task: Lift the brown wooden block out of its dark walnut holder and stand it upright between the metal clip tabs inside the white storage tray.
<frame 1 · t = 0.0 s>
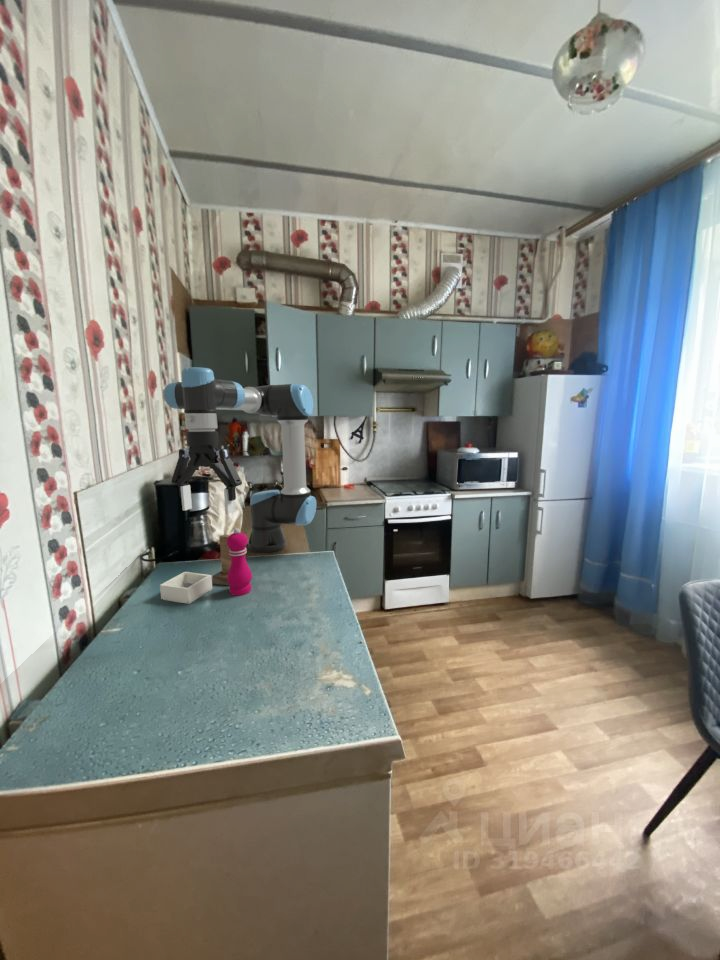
hand: (208, 511, 99), 28 cm above the countertop, fingers open, 13 cm apart
brown wooden block: (227, 558, 121), in the holder
pepper mill: (240, 591, 114), on the countertop
holder: (229, 579, 122), on the countertop
white storage tray: (187, 593, 113), on the countertop
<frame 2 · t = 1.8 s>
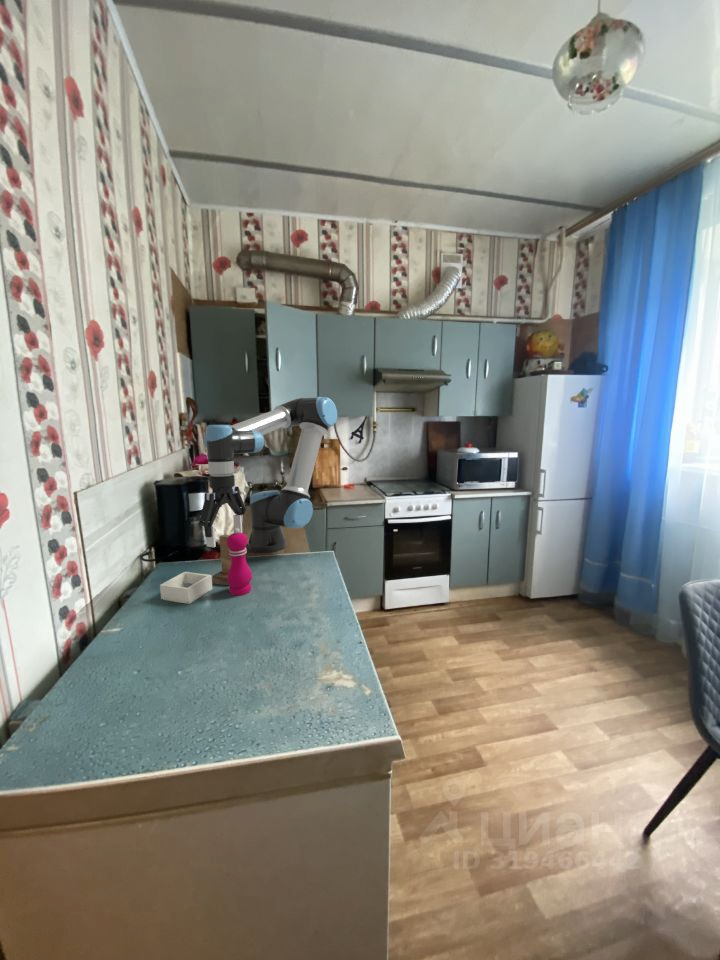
hand: (225, 540, 120), 14 cm above the countertop, fingers open, 13 cm apart
nothing on the countertop moved.
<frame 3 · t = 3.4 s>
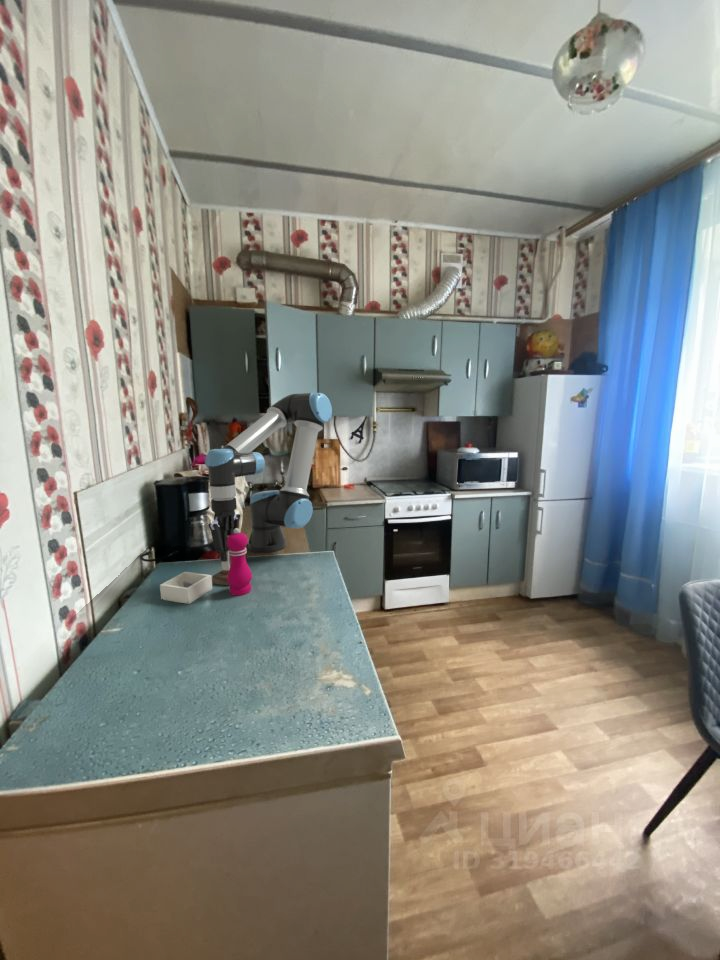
hand: (228, 568, 121), 4 cm above the countertop, fingers closed on brown wooden block, 1 cm apart
brown wooden block: (227, 558, 121), in the holder, touching gripper
everything else where it was.
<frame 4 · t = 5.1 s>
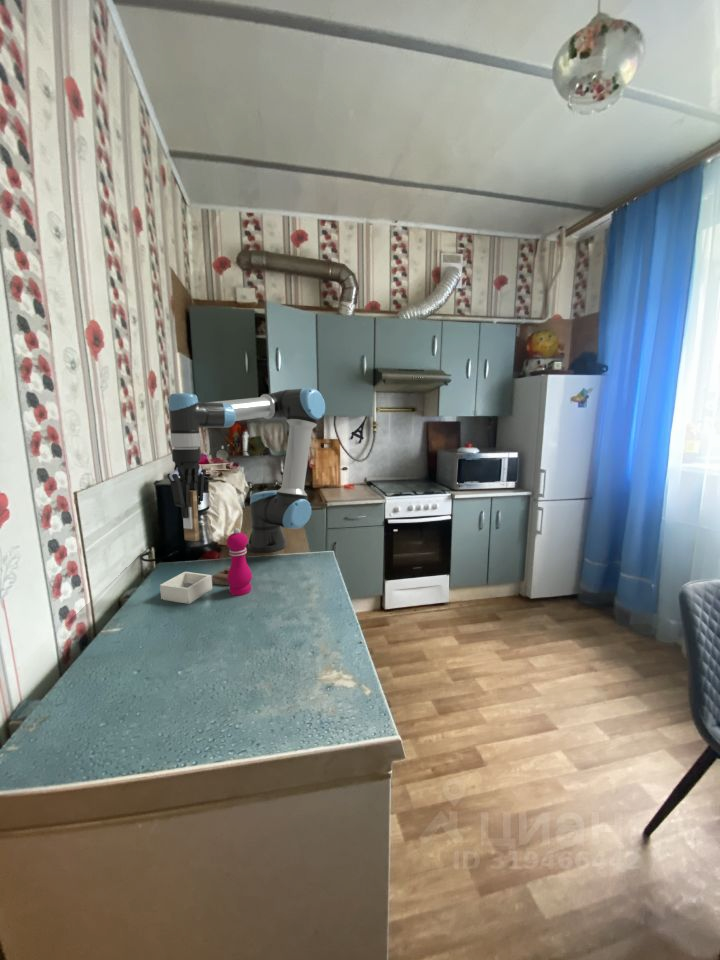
hand: (191, 527, 111), 20 cm above the countertop, fingers closed on brown wooden block, 1 cm apart
brown wooden block: (190, 515, 111), point 24 cm above the countertop, touching gripper
everything else where it was.
when the fingers open (6 cm above the countertop, at t = 7.1 s): brown wooden block drops 1 cm, resting on white storage tray.
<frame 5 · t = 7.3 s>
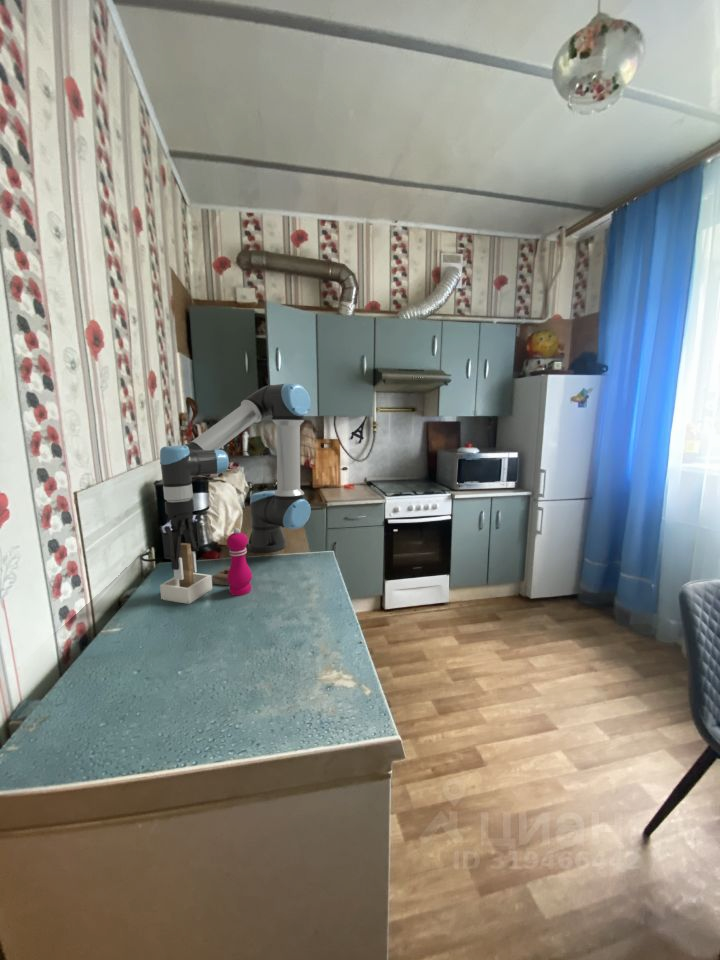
hand: (185, 575, 112), 6 cm above the countertop, fingers open, 5 cm apart
brown wooden block: (185, 567, 111), in the white storage tray, point 8 cm above the countertop
everything else where it was.
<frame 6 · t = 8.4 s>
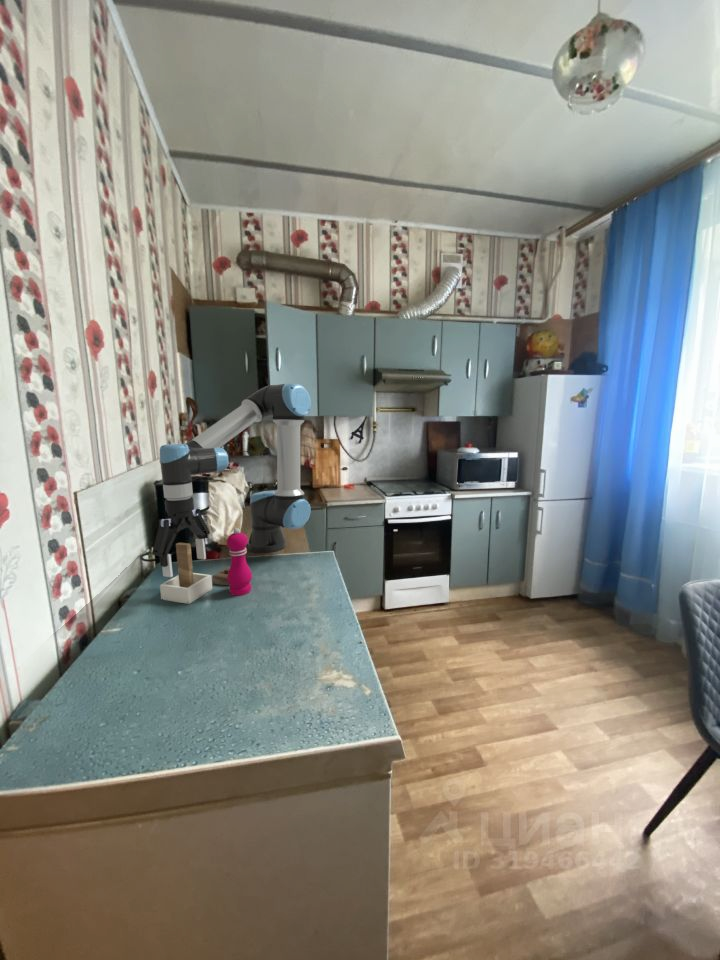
hand: (185, 567, 111), 9 cm above the countertop, fingers open, 13 cm apart
nothing on the countertop moved.
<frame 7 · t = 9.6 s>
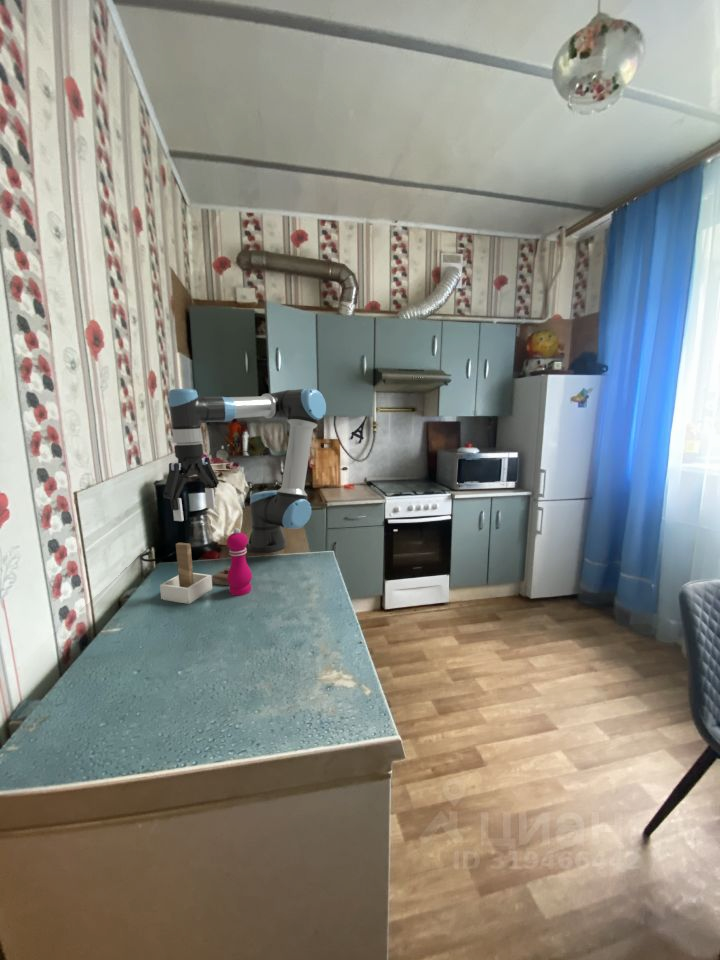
hand: (196, 514, 112), 24 cm above the countertop, fingers open, 13 cm apart
nothing on the countertop moved.
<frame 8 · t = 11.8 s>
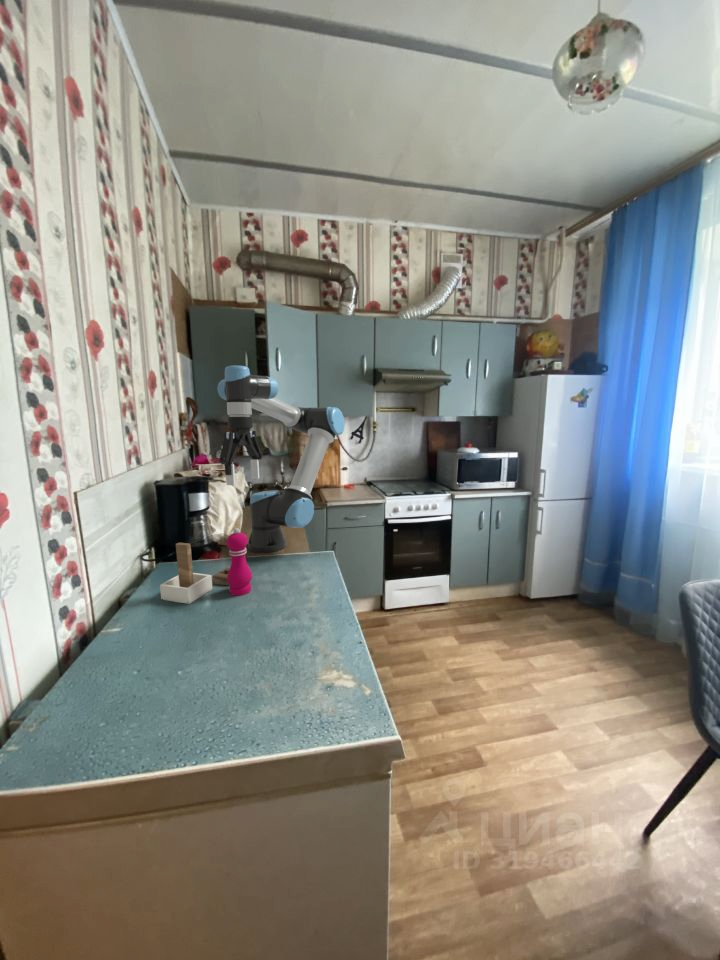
hand: (243, 481, 123), 32 cm above the countertop, fingers open, 13 cm apart
nothing on the countertop moved.
at the end: brown wooden block 0.0 cm off-centre on the white storage tray, point 8.3 cm above the white storage tray's base; brown wooden block tilted 0°; the gripper is holding nothing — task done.
